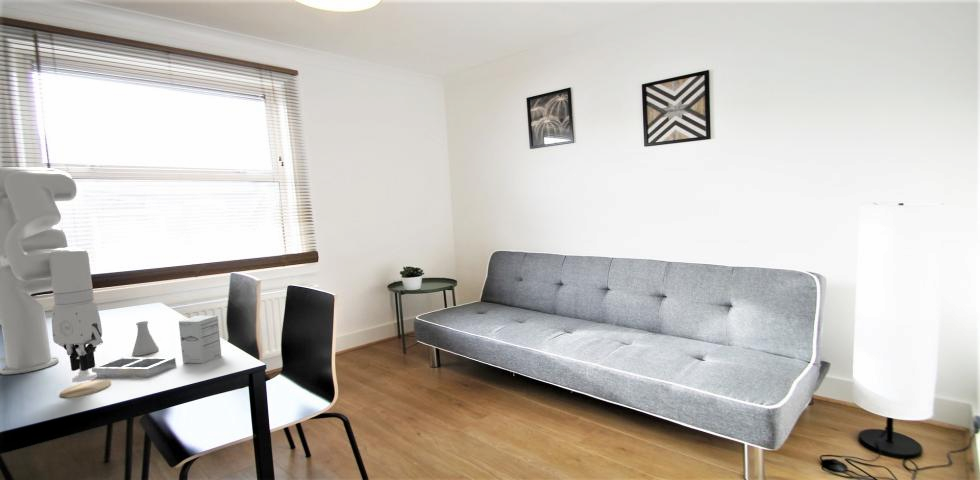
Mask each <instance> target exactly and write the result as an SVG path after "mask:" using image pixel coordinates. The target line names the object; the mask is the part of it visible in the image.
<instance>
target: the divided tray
mask: <svg viewBox="0 0 980 480" xmlns="http://www.w3.org/2000/svg"><path fill="white" fill-rule="evenodd" d="M176 362H177V361H176V357H148V356H147V357H140V356H139V357H138V356H137V357H134V356H133V357H130V356H128V357H127V356H125V357H120V358H116V359H113V360H112V361H111V360H110V361H107V362H105V363H103V364H100V365H97V366H95V367H93V368H91V372H95V373H97V374H96V375H97V377H96V378H151V377H154V376H155V375H158V374H160V373H162V372H164V371H167V370H169V369H171V368H174V367H176V366H177V363H176Z"/></svg>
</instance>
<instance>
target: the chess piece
mask: <svg viewBox="0 0 980 480" xmlns="http://www.w3.org/2000/svg"><path fill="white" fill-rule="evenodd" d="M77 345H79V347H78V348H76V351H77V353H78V355H79V356H80V355H81V351H80V344H77ZM76 359H79V357H77V358H76ZM96 374H97V373H95V372H92V371H91V370H89V369H88V370H85V371H81V367H80V369H79V372H78V373H77V375H75V376H73V377H72V380H71V381H72V383H83V382H86V381H89V380H93V379H95V378H98V377H97V375H96Z"/></svg>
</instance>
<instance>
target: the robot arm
mask: <svg viewBox="0 0 980 480" xmlns="http://www.w3.org/2000/svg"><path fill="white" fill-rule="evenodd" d="M77 190H78V189H77V185H76V182H75V180H74V179H73V177H72V176H71V175H70V174H69V173H68V172H65V171H63V170H59V169H57V168H56V169H55V168H50V167H48V168H47V167H23V166H22V167H20V166H0V259H6V260H7V262H8V264H4V265H0V323H1V324H0V325H1V331H2V339H3V346H4V352H5V355H4V357H0V363H2V362H3V363H5V366H3V367H1V368H0V374H1V375H8V376H9V375H18V374H25V373H29V372H33V371H38V370H42V369H46V368H49V367H51V366H53V365H56V364H57V363H59V357H56V356H52V354H51V345H50V341H49V340H50V339H49V333H48V331H49V330H48V325H47V317H46V312H45V311H46V309H45V307H44V305H43V304H42V302H40V301H39V300H37V299H35V298H34V297H33V296H32V295H34V294H38V293H45V292H52V294H53V301H54V305H52V311H51V329H52V331H51V332H52V340H53V343H55V344H57V345H58V346H60V347H61V348H64V350H66V354H67V355H68V356H69V362H70V369H71V371H72V372H74V371H77V370H80V367H81V371H85V370H88V371H89V370H90V369H91V370H92V368H94V367H96V362H95V352H96V349H97V347H99V346H100V345H102V344H103V343H104V341H103V339H102V336H103V327H102V321H101V318H100V317H101V316H100V312H99V309H98V306H97V304H96V302H95V297H94V288H93V282H92V273H91V265H90V257H89V256H90V255H89V253H88V251H87V250H86V249H83V248H78V247H71V246H70V247H69V246H68V239H67V236H66V234H65V232H64V230H63V229H62V228H61V227H59V226H58V224H59V223H60V221H61V220H62V219H61V218H62V216H61V213H60V210H59V208H58V206H57V204H56V202H69V201H72V200H74V199H75V198H76V195H77ZM77 344H80V351H81V355H80V356H79V355H78V353H77V351H76V348H78V347H79V345H77ZM77 357H79V359H76V358H77Z"/></svg>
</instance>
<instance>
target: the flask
mask: <svg viewBox="0 0 980 480" xmlns="http://www.w3.org/2000/svg"><path fill="white" fill-rule="evenodd" d="M148 323H149V320H144V321H142V320H141V321H138V322H136V323H135V325H136V327H137V335H136V339H135V344H134V346H133V348H132V349H133V350H132V354H131V355H132V356H137V357H138V356H139V357H140V356H144V355H150V354H153V353H156V352H159V350H160V348H159V346H158V345H157V343H156V342H155V340H154V339H153V337H152V335H151V333H150V330H149V327H148Z"/></svg>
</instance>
